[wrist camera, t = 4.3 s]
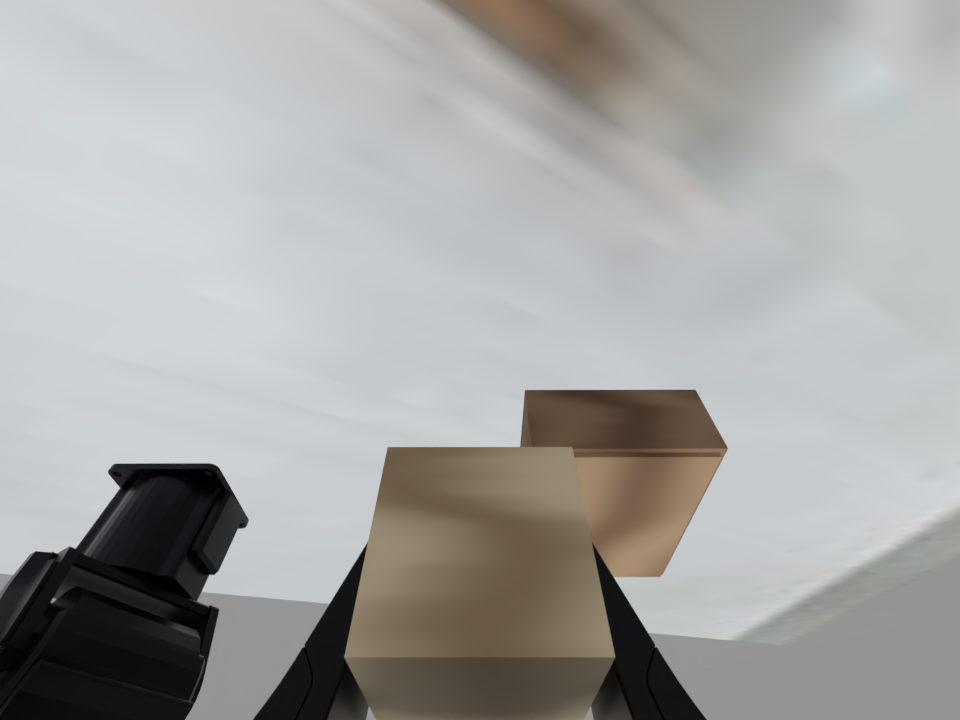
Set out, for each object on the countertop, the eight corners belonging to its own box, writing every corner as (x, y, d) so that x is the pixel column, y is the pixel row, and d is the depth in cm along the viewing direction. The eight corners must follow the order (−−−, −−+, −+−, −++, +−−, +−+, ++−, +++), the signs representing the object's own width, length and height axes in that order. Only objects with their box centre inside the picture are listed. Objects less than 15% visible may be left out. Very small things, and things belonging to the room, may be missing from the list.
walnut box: (514, 518, 31) (518, 579, 28) (525, 389, 24) (532, 453, 20) (644, 517, 31) (663, 579, 28) (695, 389, 24) (730, 452, 20)
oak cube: (406, 544, 15) (381, 729, 11) (387, 446, 12) (344, 657, 8) (553, 544, 15) (578, 729, 11) (571, 447, 12) (615, 657, 8)
